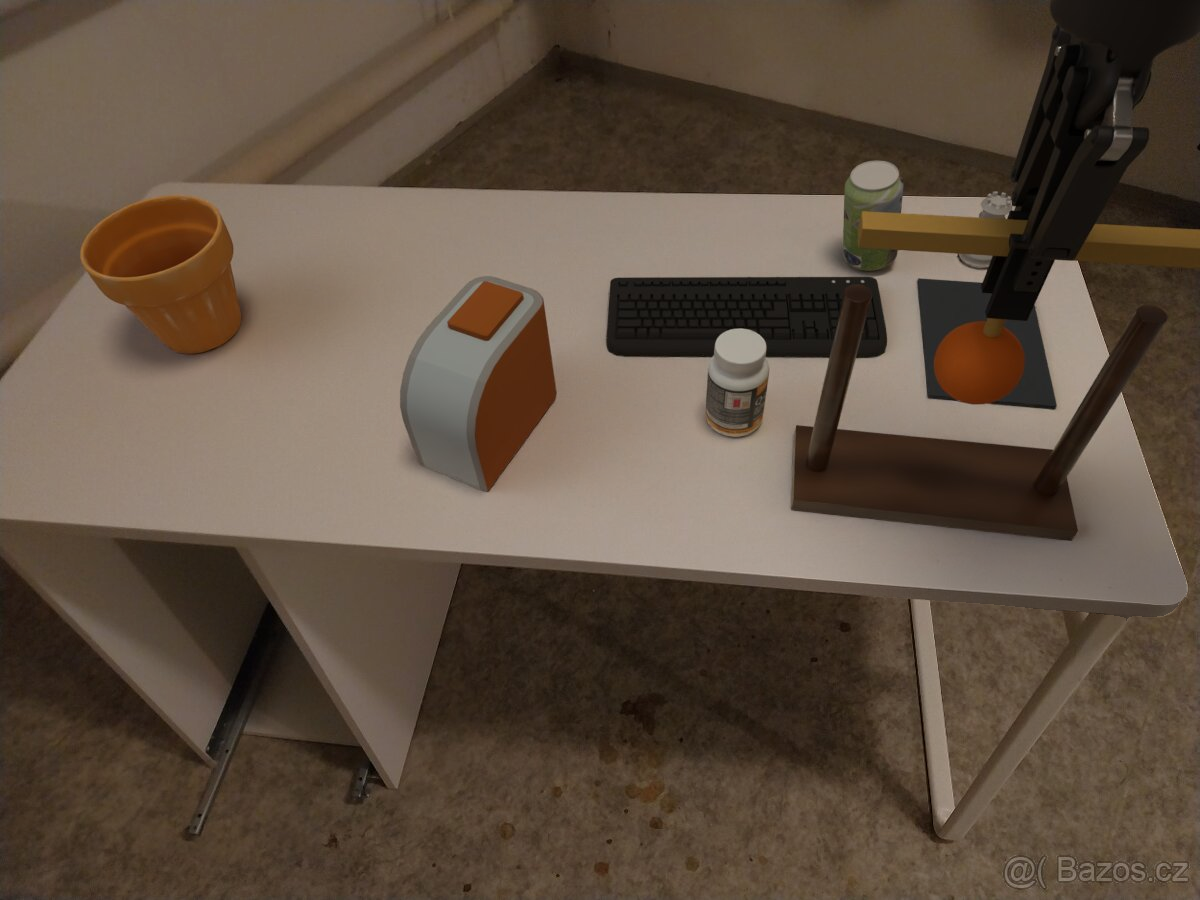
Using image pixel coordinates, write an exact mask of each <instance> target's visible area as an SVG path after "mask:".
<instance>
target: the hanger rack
mask: <svg viewBox="0 0 1200 900" xmlns="http://www.w3.org/2000/svg"><path fill="white" fill-rule="evenodd" d="M871 298H872V292H871V290H870V289H869V288H867V287H866V286H863V285H858V284H856V285H850V286H848V287H847V288H846V289H845V291H844V295H843V300H842V304H841V309H840V313H839V317H838V322H837V326H836V331H835V335H834V339H833V344H832V348H831V353H830V357H828V362H827V366H826V370H825V375H824V379H823V383H822V389H821V392H820V397H819V402H818V406H817V410H816V414H815V419H814V423H813V426H811V425H801V424H800V425H799V424H796V425H795V428H794V433H793V449H792V451H793V453H792V475H791V476H792V477H791V479H792V480H791V502H790V503H791V504H790V505H791V506H790V509H791V511H799V512H806V513H807V512H808V513H817V514H827V515H835V516H844V517H854V518H862V519H871V520H880V521H890V522H899V523H907V524H908V523H909V524H916V525H928V526H936V527H943V528H953V529H963V530H970V531H971V530H972V531H980V532H981V531H982V532H989V533H990V532H991V533H998V534H1008V535H1016V536H1024V537H1025V536H1027V537H1035V538H1043V539H1044V538H1045V539H1054V540H1060V541H1061V540H1063V541H1070V542H1071V541H1073V540H1074V538H1075V537H1076V536H1077V534H1078V533H1079V528H1078V523H1077V518H1076V514H1075V513H1076V512H1075V509H1074V504H1073V499H1072V494H1071V489H1070V486H1069V482H1068V481H1069V480H1068V476H1069V474H1070V473H1071V471H1072V470H1073V468H1074V467H1075V465H1076V464H1077V462H1078V461H1079V459H1080V457H1081V456H1082V454H1083V453H1084V451H1085V449H1086V448H1087V446H1088V445H1089V443H1090V442H1091V440H1092V439H1093V437H1094V435H1095V434H1096V432H1097V431H1098V429H1099V428H1100V426H1101V424H1102V423H1103V421H1104V420H1105V418H1106V417H1107V415H1108V414H1109V412H1110V410H1111V409H1112V408H1113V406H1114V404H1115V403H1116V401H1117V400H1118V398H1119V397H1120V395H1121V393H1122V392H1123V391H1124V389H1125V387H1126V385H1127V384H1128V382H1129V381H1130V380H1131V378H1132V376H1133V375H1134V373H1135V371H1136V370H1137V369H1138V367H1139V365H1140V364H1141V362H1142V360H1143V359H1144V357H1145V356H1146V354H1147V353H1148V352H1149V350H1150V348H1151V346H1153V344H1154V342H1155V340H1156V338H1157V337H1158V335H1159V334H1160V332H1161V331H1162V330H1163V328H1164V326H1165V324H1166V323H1167V322H1168V319H1169V317H1168V314H1167V312H1166V311H1165V310H1164V309H1162V308H1160V307H1159V306H1156V305H1153V304H1143V305H1140V306H1138V307H1137V308H1136V310H1135V311H1134V313H1133V315H1132V317H1131V318H1130V320H1129V322H1128V323H1127V325H1126V326H1125V328H1124V330H1123V331H1122V333H1121V335H1120V337H1119V338H1118V340H1117V342H1116V343H1115V345H1114V347H1113V348H1112V350H1111V352H1110V353H1109V355H1108V357H1107V359H1106V360H1105V362H1104V364H1103V365H1102V367H1101V368H1100V371H1099V372H1098V374H1097V375H1096V377H1095V378H1094V380H1093V382H1092V384H1091V385H1090V387H1089V389H1088V391H1086V394H1085V395H1084V398H1083V399H1082V401H1081V402H1080V404H1079V405H1078V407H1077V409H1076V411H1075V413H1074V414H1073V416H1072V417H1071V419H1070V421H1069V422H1068V424H1067V426H1066V428H1065V429H1064V431H1063V433H1062V434H1061V436H1060V438H1059V439H1058V441H1057V443H1056V445H1055V446H1054V447H1053V449H1052V448H1051V449H1050V448H1040V447H1032V446H1031V447H1030V446H1019V445H1011V444H1010V445H1009V444H1000V443H999V444H998V443H989V442H988V443H987V442H977V441H968V440H956V439H946V438H938V437H937V438H936V437H926V436H916V435H905V434H904V435H903V434H895V433H884V432H883V433H882V432H872V431H864V430H863V431H862V430H852V429H840V428H839V424H840V421H841V416H842V413H843V408H844V405H845V401H846V397H847V393H848V390H849V385H850V382H851V378H852V374H853V370H854V366H855V362H856V355H857V352H858V348H859V344H860V340H861V336H862V333H863V329H864V325H865V321H866V317H867V314H868V310H869V306H870V302H871Z"/></svg>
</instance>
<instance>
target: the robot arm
mask: <svg viewBox="0 0 1200 900" xmlns="http://www.w3.org/2000/svg"><path fill="white" fill-rule="evenodd" d="M1049 12H1050V16H1051V17H1052V19H1053V21H1054V23H1055V24H1056V25H1055V27H1054V29H1053V30H1052V33H1051V40H1050V41H1051V42H1050V46H1049V50H1048V55H1047V60H1046V64H1045V67H1044V70H1043V73H1042V77H1041V80H1040V83H1039V85H1038V89H1037V92H1036V95H1035V98H1034V100H1033V101H1034V102H1033V105H1032V108H1031V110H1030V114H1029V117H1028V120H1027V123H1026V126H1025V130H1024V132H1023V135H1022V138H1021V142H1020V144H1019V148H1018V151H1017V153H1016V157H1015V161H1014V164H1013V166H1012V169H1011V171H1010V181H1011V183H1013V184H1016V185H1015V187H1014V190H1013V191H1012V192H1011V195H1010V197H1011V205H1012V207H1014V208H1013V209H1014V210H1012V211H1011V210H1010V212H1009V213H1008V214H1007V217H1006V219H1014V220H1028V221H1027V224H1026V227H1025V230H1024V232H1023V234H1012V233H1010V237H1009V247H1010V251H1009V253H1008V256H1007V257H1005V256H993V257H992V259H991V262H990V264H989V267H987V270H986V273H985V275H984V278H983V280H982V282H981V283H982V285H981V288H982V293H991V294H992V295H991V298H990V300H989V303H988V305H987V308H986V310H985V312H986V318H992V319H1006V320H1020V321H1027V320H1028V318H1029V316H1030V313H1031V311H1032V309H1033V307H1034V305H1035V306H1036V303H1037V300H1038V299H1039V295H1040V294H1041V292H1042V289H1043V287H1044V285H1045V284H1046V280H1047V278H1048V276H1049V274H1050V272H1051V270H1052V267H1053V265H1054V263H1055V262H1056V261H1066V262H1067V261H1068V262H1074V261H1073V260H1074V259H1075V258H1076V256H1077V254H1078V253H1079V251H1080V249H1081V247H1082V246H1083V244H1084V242H1085V240H1086V239H1087V237H1088V235H1089V233H1090V232H1091V230H1092V228H1093V226H1094V225H1095V224H1097V221H1098V220H1099V218H1100V216H1101V214H1102V212H1103V211H1104V209H1105V207H1106V206H1107V204H1108V202H1109V201H1110V199H1111V197H1112V195H1113V193H1114V191H1115V190H1116V188H1117V187H1118V184H1120V181H1121V180H1122V178H1123V176H1124V174H1125V173H1126V171H1127V169H1128V167H1129V166H1130V165H1131V164H1132V163H1133V162H1134V161H1135V160H1136V159H1137V158H1138V156H1139V155H1140V154H1141V153H1143V151H1144V150H1145V148H1146V147H1147V145H1148V142H1149V141H1150V129H1149V128H1148V127H1145V126H1133V111H1134V109H1135V107H1136V106H1138V105H1139V104H1140V103H1141V102H1142V101H1143V99H1144V97H1145V95H1146V92H1147V90H1148V87H1149V85H1150V82H1151V79H1152V68H1153V65H1154V59H1156V57H1158V56H1159V55H1160V54H1161V53H1163V52H1165V51H1167V50H1169V49H1171V48H1173V47H1176V46H1180V45H1182V44H1185V43H1187V42H1188V41H1191V40H1193V39H1194V38H1195V37H1196V36H1198V35H1199V34H1200V0H1050V1H1049Z"/></svg>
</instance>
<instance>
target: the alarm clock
mask: <svg viewBox="0 0 1200 900" xmlns="http://www.w3.org/2000/svg"><path fill="white" fill-rule="evenodd" d="M546 313H547V312H546V307H545V300H544V297H543V295H542V294H541V293H540V292H539V291H538V290H536V289H534V288H531V287H528V286H525V285H522V284H519V283H515V282H512V281H509V280H505V279H503V278H499V277H496V276H492V275H491V276H490V275H483V276H479V277H475V278H473V279H472V280H469V281H468V282H467V283H465V285H464V286H463V287H462V288H461V289H460V290H459V291H458V292H457V293H456V295H455V296H454V297H453V298H452V299H451V300H450V301H449V302H448V304H447V305H445V307H443V309H442V310H441V311H440V312H439V313H438V314H437V315H436V316H435V318H434V319H432V321H431V322H430V323H429V324H428V325H427V326H426V327H425V329H424V331H423V332H422V333H421V334H420V336H419V337H418V339H417V340H416V342H415V344H414V346H413V348H412V349H411V352H410V353H409V355H408V358H407V361H406V364H405V367H404V370H403V374H402V379H401V383H400V384H401V385H400V390H399V409H400V414H401V418H402V421H403V424H404V428H405V430H406V432H407V435H408V438H409V441H410V443H411V447H412V449H413V452H414V455H415V457H416V460H417V463H418V464H419V465H421V466H422V467H425V468H427V469H430V470H432V471H434V472H438V473H439V474H442V475H445V476H447V477H450V478H451V479H454V480H457V481H459V482H460V483H461V482H462V483H464V484H466V485H468V486H470V487H474V488H476V489H478V490H481V491H483V492H485V493H486V492H489V490H490V489H491V488H492V486H493V485H494V484H495V482H496V481H497V480H498V478H499V477H500V475H501V474H502V473H503V471H504V470H505V468H507V466H508V464H509V463H510V462H511V461H512V459H513V458H514V456H515V455H516V454H517V452H518V451H519V450H520V448H521V447H522V445H523V444H524V442H525V441H526V440H527V439H528V437H529V435H530V434H531V433H532V432H533V430H534V429H535V428H536V426H537V425H538V424H539V422H540V420H541V419H542V418H543V416H544V415H545V414H546V413H547V411H548V409H549V408H550V407H551V406H552V404H553V403H554V401H555V400H556V397H557V394H558V393H557V386H556V378H555V372H554V365H553V358H552V350H551V343H550V336H549V335H550V334H549V329H548V320H547V315H546Z"/></svg>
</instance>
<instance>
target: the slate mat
mask: <svg viewBox="0 0 1200 900" xmlns="http://www.w3.org/2000/svg"><path fill="white" fill-rule="evenodd" d="M916 282H917V283H916V284H917V295H918V303H919V315H920V316H919V317H920V327H921V335H922V337H921V338H922V347H923V348H922V349H923V357H924V358H923V359H924V368H925V378H926V391H927V398H928V399H936V400H947V401H958V400H956V399H954V398H952V397H951V396H950V395H948V394H947V393H946V392H945V391H944V390H943V389H942V387H941V386H940V384H939V383H938V381H937V378H936V376H935V372H934V358H935V354H936V351H937V348H938V346H939V344H940V343H941V341H942V340H943V339H944V338H945V337H946V336H947V335H948V334H949V333H950V332H951V331H952V330H954V329H955V328H957V327H959V326H961V325H964V324H966V323H970V322H976V321H987V319H988V318H986V312H985V310H986V308H987V305H988V303H989V300H990V298H991V295H992V294H991V293H982V288H981V285H982V283H983V282H978V281H963V280H951V279H950V280H949V279H948V280H947V279H937V278H936V279H934V278H933V279H932V278H920V277H919V278H917V281H916ZM1036 309H1037V308H1036V304H1035V305H1034V307H1033V309H1032V311H1031V313H1030V316H1029V318H1028V320H1027V321H1020V320H1006V321H1005V324H1004V326H1003V327H1005V328H1007V329H1008V330H1009V331H1011V332H1012V333H1013V334H1014V335H1015V336H1016V337H1017V339H1018V340H1019V342H1020V344H1021V346H1022V348H1023V351H1024V356H1025V366H1024V371H1023V374H1022V377H1021V379H1020V381H1019V382H1018V384H1017V385H1016V387H1015V388H1014V389H1013V390H1012V391H1011V392H1010V393H1009V394H1007V395H1006V396H1005V397H1003V398H1001V399H999V400H997V401H995V402H991V403H990V404H991V405H992V404H993V405H1002V406H1003V405H1004V406H1015V407H1026V408H1037V409H1049V410H1056V409H1057V407H1058V404H1057V400H1056V396H1055V391H1054V386H1053V382H1052V377H1051V372H1050V367H1049V363H1048V359H1047V355H1046V349H1045V346H1044V341H1043V335H1042V332H1041V327H1040V323H1039V317H1038V314H1037V310H1036ZM958 402H959V401H958Z"/></svg>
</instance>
